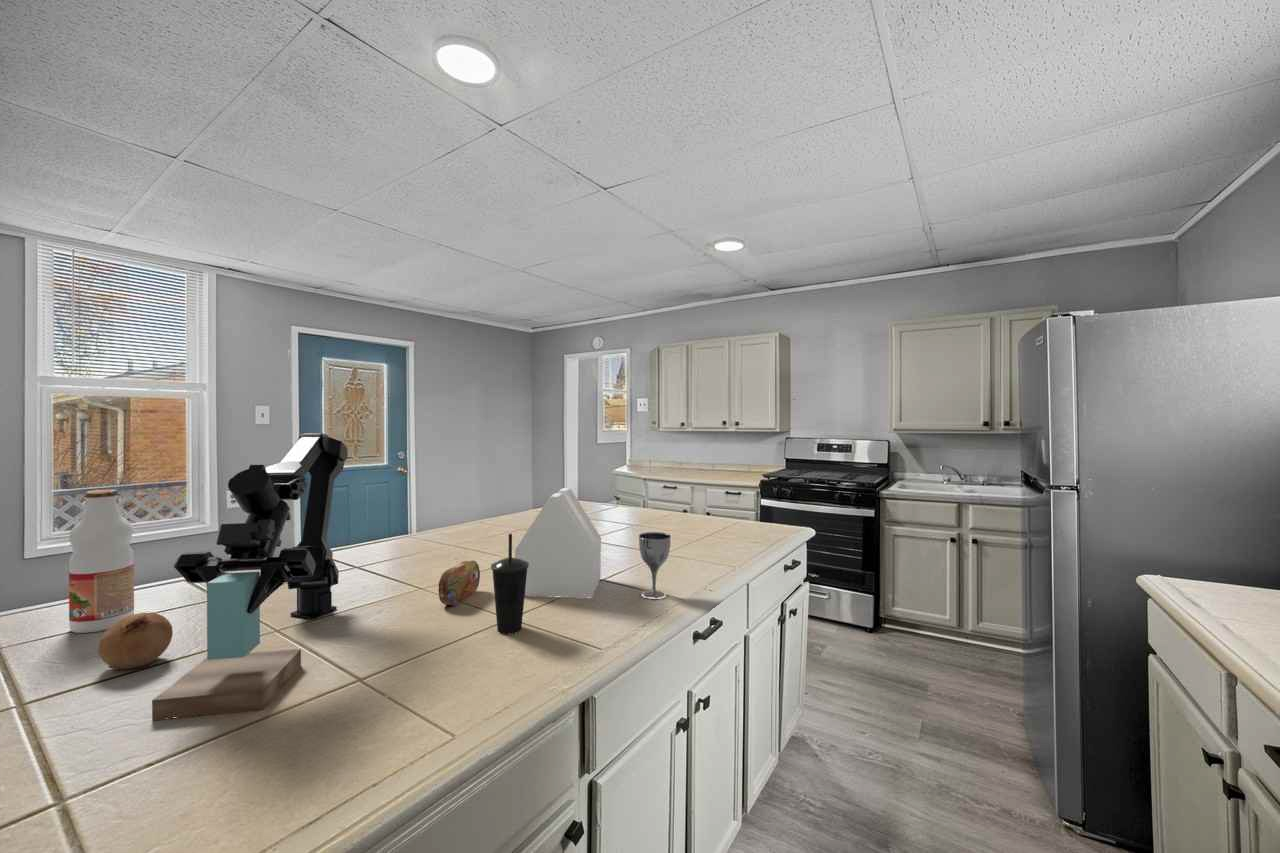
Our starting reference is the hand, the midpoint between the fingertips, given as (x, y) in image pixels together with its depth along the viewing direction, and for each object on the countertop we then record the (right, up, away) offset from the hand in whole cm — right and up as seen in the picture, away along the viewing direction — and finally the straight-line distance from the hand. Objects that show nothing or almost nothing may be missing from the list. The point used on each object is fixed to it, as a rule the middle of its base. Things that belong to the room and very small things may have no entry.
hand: (229, 613), depth 82 cm
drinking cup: (+37, -13, +27) cm, 48 cm away
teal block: (0, -7, +1) cm, 7 cm away
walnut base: (-1, -13, +2) cm, 13 cm away
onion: (-24, -13, +10) cm, 29 cm away
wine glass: (+68, -13, +48) cm, 85 cm away
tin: (+21, -13, +44) cm, 50 cm away
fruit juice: (-47, -12, +26) cm, 55 cm away
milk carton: (+44, -13, +54) cm, 71 cm away
